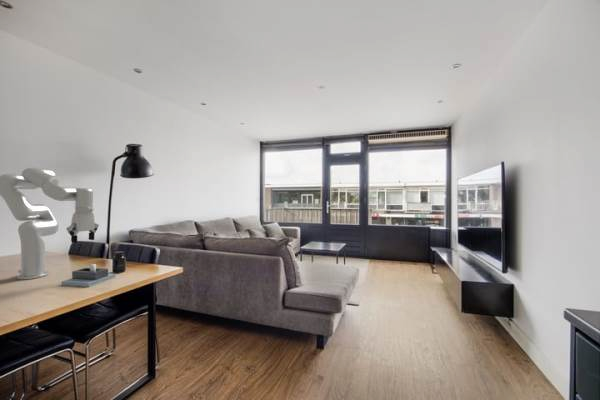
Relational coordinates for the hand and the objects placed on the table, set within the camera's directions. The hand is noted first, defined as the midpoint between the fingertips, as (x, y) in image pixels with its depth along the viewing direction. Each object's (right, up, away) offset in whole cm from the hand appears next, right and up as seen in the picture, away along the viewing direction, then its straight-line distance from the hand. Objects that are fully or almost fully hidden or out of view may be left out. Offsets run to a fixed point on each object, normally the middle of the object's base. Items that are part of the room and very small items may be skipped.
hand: (83, 241), depth 147 cm
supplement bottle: (+11, -21, +13) cm, 27 cm away
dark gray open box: (+8, -19, -5) cm, 21 cm away
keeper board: (+8, -21, -5) cm, 23 cm away
